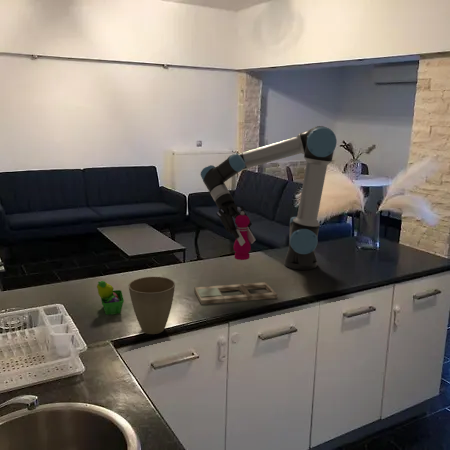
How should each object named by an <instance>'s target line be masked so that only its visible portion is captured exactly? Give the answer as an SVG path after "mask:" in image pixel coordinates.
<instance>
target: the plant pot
mask: <svg viewBox="0 0 450 450" xmlns="http://www.w3.org/2000/svg"><path fill="white" fill-rule="evenodd" d="M175 287H176V283H175V281H174V280H173V279H171V278H168V277H164V276H163V277H162V276H145V277H140V278H139V277H138V278H137V279H134V280H132V281H131V282H129V283H128V289H129V290H128V291H129V296H130V301H131V305H132V308H133V310H134V311H133V312H134V314H135V318H136V319H137V323H138V324H139V327H140V329H141V331H142V332H143V333H144V334H147V335H155V334H156V335H157V334H161V333H162V332H164V331H165V329H166V326H167V323H168V319H169V317H170V314H171V310H172V306H173V300H174V294H175Z"/></svg>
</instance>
